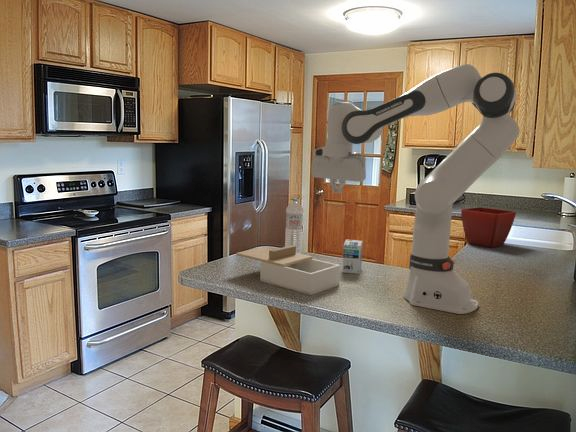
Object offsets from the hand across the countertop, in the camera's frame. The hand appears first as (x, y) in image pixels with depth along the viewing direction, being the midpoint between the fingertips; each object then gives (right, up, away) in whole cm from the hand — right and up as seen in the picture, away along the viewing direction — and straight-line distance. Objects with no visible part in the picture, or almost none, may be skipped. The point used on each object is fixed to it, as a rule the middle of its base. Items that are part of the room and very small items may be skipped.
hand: (337, 192), depth 170 cm
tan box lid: (-22, -22, +8) cm, 32 cm away
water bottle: (-15, -26, +35) cm, 46 cm away
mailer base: (-13, -31, +2) cm, 33 cm away
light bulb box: (+8, -29, +21) cm, 36 cm away
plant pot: (+81, -22, +77) cm, 113 cm away
